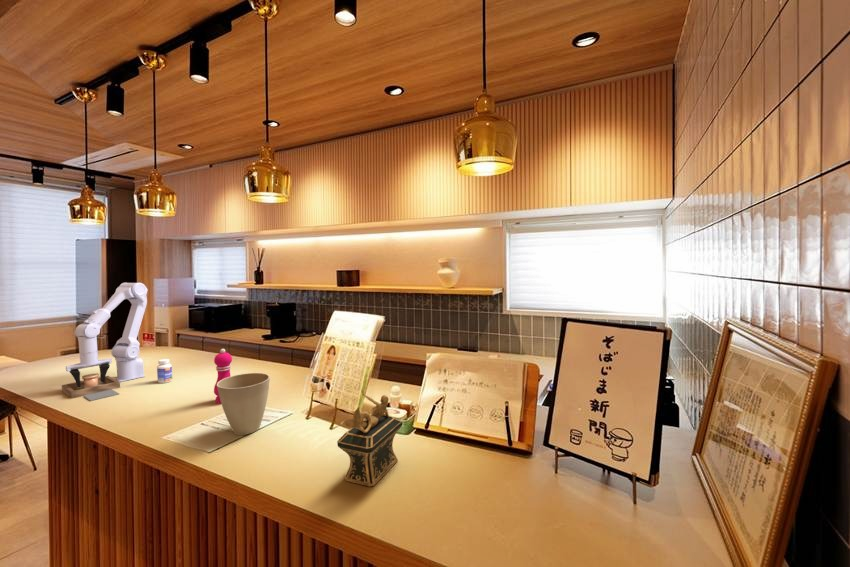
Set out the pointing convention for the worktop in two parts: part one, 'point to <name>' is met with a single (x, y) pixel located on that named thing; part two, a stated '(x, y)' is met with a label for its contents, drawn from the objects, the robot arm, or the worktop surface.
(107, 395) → the slate mat
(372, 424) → the decorative box
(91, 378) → the terracotta pot
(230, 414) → the plant pot
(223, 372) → the pepper mill
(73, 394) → the frame
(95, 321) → the robot arm
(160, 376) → the pill bottle
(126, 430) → the worktop surface
